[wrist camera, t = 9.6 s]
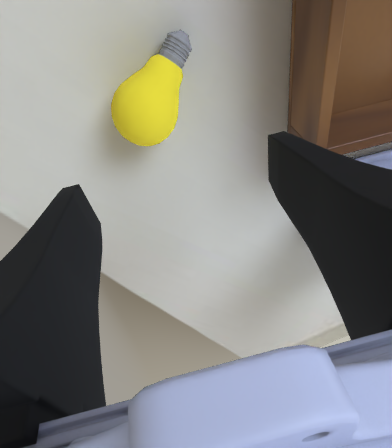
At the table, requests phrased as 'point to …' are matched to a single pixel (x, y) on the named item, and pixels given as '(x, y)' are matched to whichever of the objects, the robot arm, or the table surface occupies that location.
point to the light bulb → (152, 94)
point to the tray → (341, 73)
